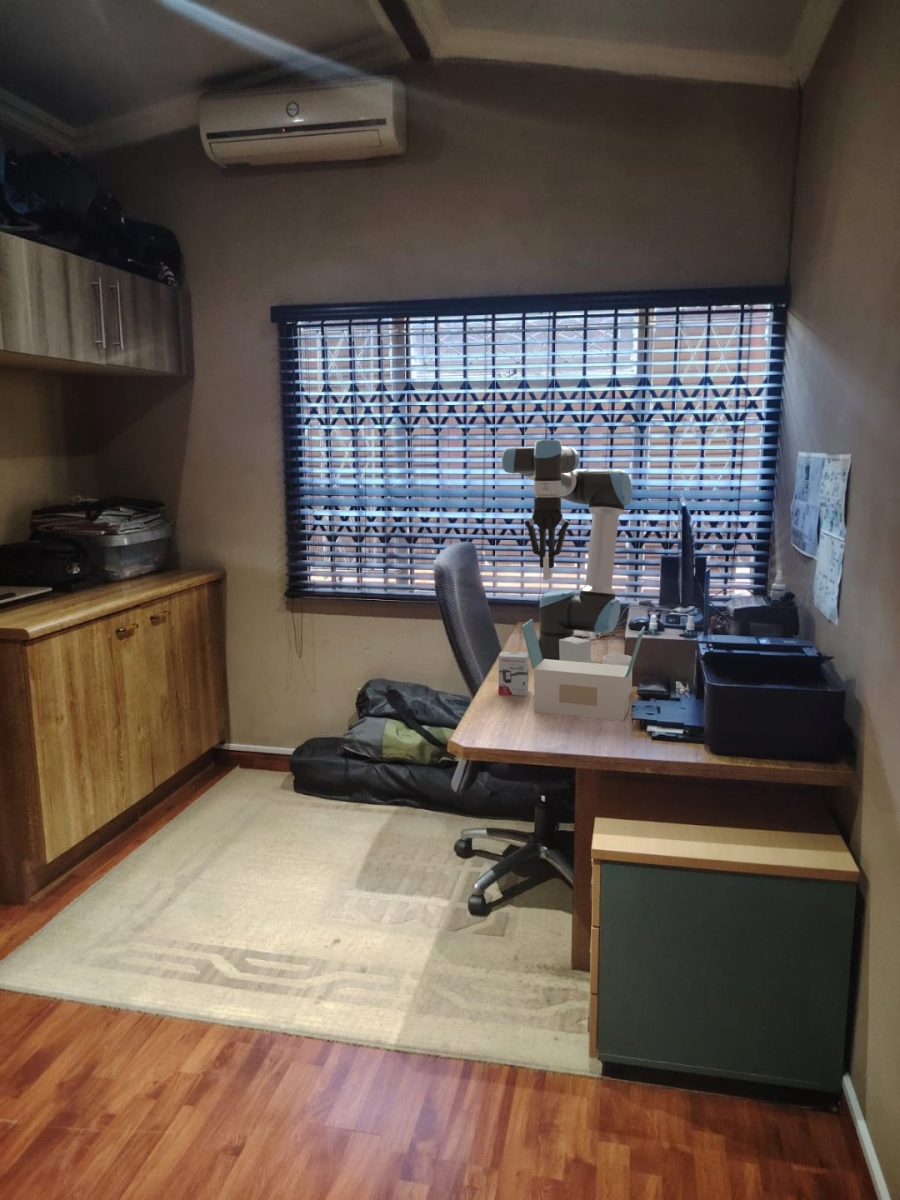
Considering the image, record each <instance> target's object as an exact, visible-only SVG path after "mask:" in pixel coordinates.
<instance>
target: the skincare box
mask: <svg viewBox="0 0 900 1200" xmlns="http://www.w3.org/2000/svg"><path fill="white" fill-rule="evenodd" d="M591 642H592V641H591V640H590V639H589V640H588V639H585V638H579V637H576V636H574V637H568V638H564V639H560V640H559V656H560V660H562V661H574V662H586V663H592V651H591V650H592V648H591V647H592V646H591Z"/></svg>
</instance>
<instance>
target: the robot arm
mask: <svg viewBox="0 0 900 1200" xmlns="http://www.w3.org/2000/svg"><path fill="white" fill-rule="evenodd" d="M580 460H581V459H580V455H579V452H578V451H577V450H576V449H575V448H574V447H571V446H568V445H567V446H564V445H563V446H562V442H561V440H560V439H540V440H539V439H538V440H535V443H534V446H533V447H529V446H527V447H525V446H524V447H522V446H520V447H517V446H515V447H508V448H505V449H504V451H503V453H502V456H501V466H502V468H503V471H504V472H505V473H508V474H521V475H523V476H524V477H526V478H528V479H530V480H532V481H533V495H535V497H534V498H533V514H531V518H529V519H528V520H524V525H525V527H526V529H527V531H528V535H529V539H530V544H531V547H532V552H533V553H532V554H534V555H537V556H538V557H539V567H540V569H541V568H542V570H543V571H542V573H543V574H542V580H543V581H549V580H550V579H551V577H552V576H551V573H552V570H551V569H553V568H555V556H558V555H559V554H561V552H562V550H563V544H564V541H565V537H566V532H567V530H568V528H569V526H570V525H571V521H570V520H567V519H565V518H564V517H563V513H562V499H564V500H566V501H568V502H571V503H575V504H577V505H578V504H579V505H588V510H589V512H590V513H591V514H592V517H591V527H590V535H589V545H588V546H589V547H588V556H587V566H586V574H585V575H586V576H585V584H584V586H583V588H581V589H580V590H579V595H576V593H575V591H574V590H571V589H561V590H559V589H558V590H553V591H547V592H545V593H543V594H542V595H541V596H540V600H539V605H538V606H539V607H538V608H539V636H538V638H537V639H538V643H539V647H540V651H541V655H542V659H543V660H544V659H550V660H560V656H559V640H560V639H564V638H568V637H575V631H579V632H587V633H595V634H610V633H611V632H612V631H614V630H615V627H616V626H617V624H618V621H619V618H620V615H621V602H620V600H619V599H617V598H616V592H615V591H614V590H613V588H612V586H613V577H614V576H613V575H614V567H615V566H614V565H615V558H616V547H617V546H616V545H617V537H618V536H617V535H618V528H619V517H620V515H622V514H623V513H624V512H625V507H627V506H630V504H631V502H632V498H633V486H632V482H631V479H630V476H629V474H628V473H627V471H625V470H623V469H614V468H613V469H612V468H611V469H577V468H578V467H579V464H580ZM535 524H536V526H537V527H538V531H539V542H538V539H537V533H536V529H535ZM559 524H560V526H561V528H560V531H559V534H558V538H557V542H556V541H555V540H556V539H555V537H556V535H555V534H556V533H555V532H556V528H557V527H558V525H559ZM547 530H548V531H547ZM547 533H548V555H547V551H546V550H547V547H546V546H547ZM555 544H556V547H555ZM543 660H542V661H543ZM542 661H541V662H542Z"/></svg>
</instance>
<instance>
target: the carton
mask: <svg viewBox="0 0 900 1200" xmlns="http://www.w3.org/2000/svg"><path fill="white" fill-rule="evenodd" d="M628 668H629V666H621V665H610V664H602V663H594V662H591V663H586V662H574V661H562V660H550V659H544V660H543V661H541V662H540V663H539V664H538V665H537V666H536V667H535V668H534V669H533V670H534V672H533V674H534V675H533V680H534V681H533V694H534V695H533V712H535V713H544V714H552V713H553V714H554V715H561V714H562V715H565V716H571V717H581V718H590V719H591V718H592V719H599V720H600V719H601V720H610V721H617V722H624V720H625V717H626V716H627V713H628V712H629V709H630V695H629V688H630V674H629V676H628V677H626V674H627V671H628Z"/></svg>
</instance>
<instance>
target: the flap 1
mask: <svg viewBox="0 0 900 1200" xmlns="http://www.w3.org/2000/svg"><path fill="white" fill-rule="evenodd" d="M521 629H522V633H523V637H524V641H525V645H526V648H527V653H528V654H529V662H530V666H531V668H532V670H534V669H535V668H536V667H537V666H538V665H539V664H540V663H541V662H542V660H543V659H542V655H541V651H540V647H539V643H538V639H539V638H538V636H537V632H536V627H535V623H534V620H533V618H530V619H529V620H528V621H527V622H525V623H524V624H523V625H522V626H521Z"/></svg>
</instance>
